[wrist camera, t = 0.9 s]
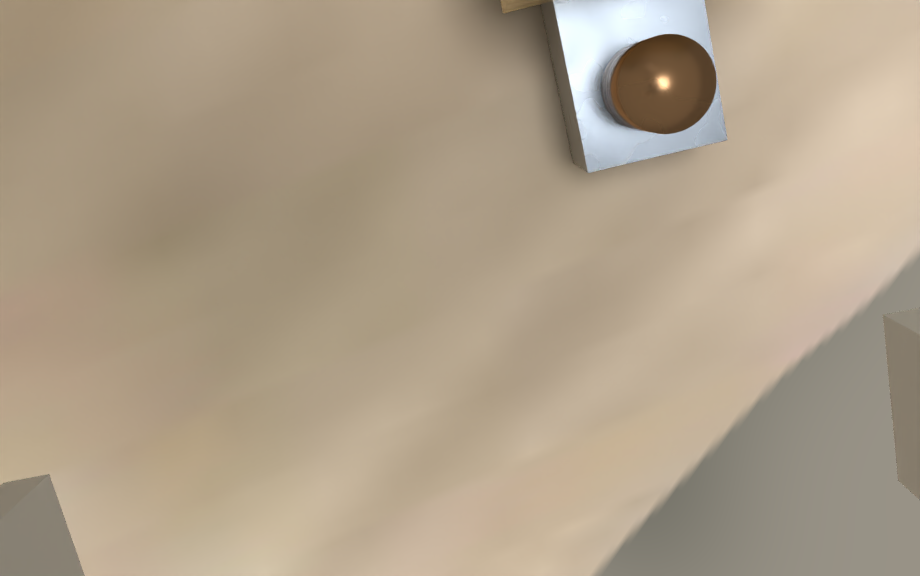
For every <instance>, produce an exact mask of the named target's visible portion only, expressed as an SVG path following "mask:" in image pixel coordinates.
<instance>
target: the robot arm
mask: <svg viewBox="0 0 920 576" xmlns="http://www.w3.org/2000/svg"><path fill="white" fill-rule="evenodd" d="M883 321H884V332H885V342H886V354H887V364H888V376H889V387H890V398H891V407H892V420H893V430H894V441H895V452H896V463H897V474H898V481H899V482H901V483H902V484H903V485H904V486H905V487H906V488H907V489H908V490H909V491H910V492H912V493H913V494H914V495H915V496H916V497H917V498H918V499H919V500H920V308H915V309H910V310H905V311H899V312H894V313H889V314H884V315H883ZM0 576H85V575H84V572H83V570H82V567H81V564H80V561H79V558H78V555H77V552H76V550H75V547H74V544H73V541H72V538H71V535H70V532H69V530H68V527H67V524H66V521H65V518H64V515H63V512H62V510H61V507H60V504H59V501H58V498H57V495H56V492H55V490H54V487H53V484H52V481H51V478H50V475H49V474H48V475H42V476H37V477H32V478H27V479H22V480H16V481H11V482H6V483H3V484H2V485H0Z"/></svg>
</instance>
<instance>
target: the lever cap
mask: <svg viewBox="0 0 920 576" xmlns="http://www.w3.org/2000/svg"><path fill="white" fill-rule="evenodd" d="M500 1H501V6H502V10H503V13H507V12H511V11H515V10H519V9H523V8H527V7H531V6H535V5H539V4H543V3H547V2H551V1H555V0H500Z"/></svg>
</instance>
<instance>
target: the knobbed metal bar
mask: <svg viewBox="0 0 920 576" xmlns="http://www.w3.org/2000/svg"><path fill="white" fill-rule="evenodd" d="M540 5H541V10H542V15H543V19H544V24H545V29H546V34H547V39H548V43H549V48H550V53H551V58H552V63H553V68H554V72H555V77H556V82H557V87H558V92H559V97H560V101H561V106H562V111H563V116H564V121H565V126H566V130H567V135H568V140H569V145H570V150H571V155H572V159H573V163H574V164H575V165H577V166H578V167H580V168H581V169H583V170H585V171H586V172H588V173H590V172H594V171H599V170H603V169H607V168H611V167H615V166H620V165H624V164H628V163H632V162H637V161H641V160H645V159H649V158H653V157H658V156H662V155H666V154H670V153H675V152H679V151H683V150H687V149H692V148H696V147H700V146H704V145H708V144H713V143H717V142H721V141H725V140H727V134H726V128H725V122H724V116H723V110H722V104H721V98H720V92H719V86H718V80H717V74H716V68H715V62H714V56H713V49H712V43H711V37H710V31H709V25H708V19H707V13H706V7H705V1H704V0H555V1H551V2H547V3H543V4H540Z"/></svg>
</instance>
